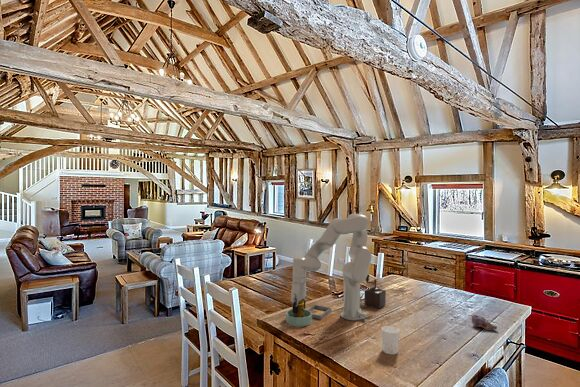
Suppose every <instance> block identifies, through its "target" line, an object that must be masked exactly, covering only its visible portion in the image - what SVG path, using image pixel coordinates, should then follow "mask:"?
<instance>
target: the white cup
mask: <svg viewBox="0 0 580 387" xmlns="http://www.w3.org/2000/svg"><path fill="white" fill-rule="evenodd" d="M381 344H382V351H383V353H385V354H386V355H396V354H398V353H399V344H400V329H399V328H397V327H396V326H393V325H384V326H381Z"/></svg>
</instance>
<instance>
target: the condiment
mask: <svg viewBox="0 0 580 387" xmlns="http://www.w3.org/2000/svg"><path fill="white" fill-rule="evenodd" d="M295 300H296V299H295ZM295 303H296V302H295ZM297 306H298V313H297V314H296V313H293V317H296V318H303V317H304V302H303V299H302V300H301V301H299V302H298V305H297Z"/></svg>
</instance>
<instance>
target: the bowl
mask: <svg viewBox="0 0 580 387" xmlns="http://www.w3.org/2000/svg"><path fill="white" fill-rule="evenodd" d="M307 309H308V308H305V309H304V317H303V318H296V317H293V312H292V308H290V309H288V310H287V311H286V312H285V322H286V324H288V325H289V326H293V327H308V326H310V325H312V323H313V318H312V314H313V313H312V311H309V310H307Z"/></svg>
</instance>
